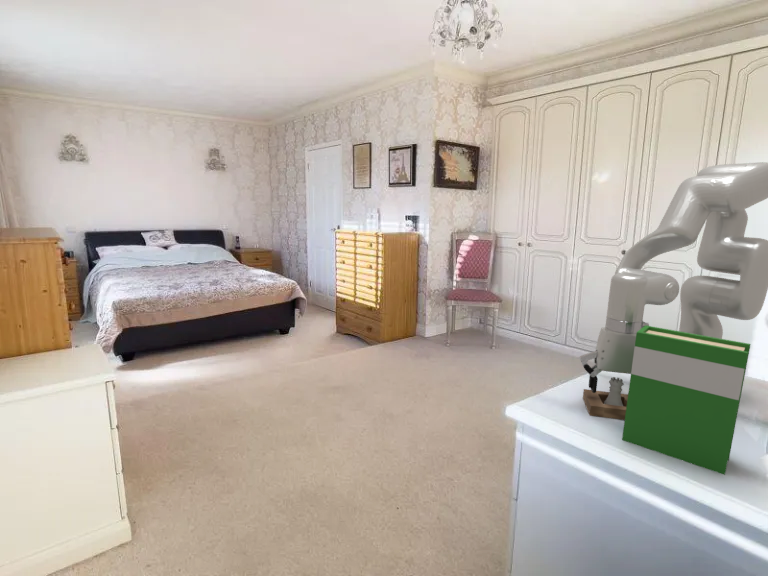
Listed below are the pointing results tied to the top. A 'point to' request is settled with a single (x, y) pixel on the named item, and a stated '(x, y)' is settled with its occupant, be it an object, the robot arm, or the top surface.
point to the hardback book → (685, 395)
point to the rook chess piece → (615, 392)
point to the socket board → (604, 405)
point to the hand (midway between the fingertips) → (614, 393)
